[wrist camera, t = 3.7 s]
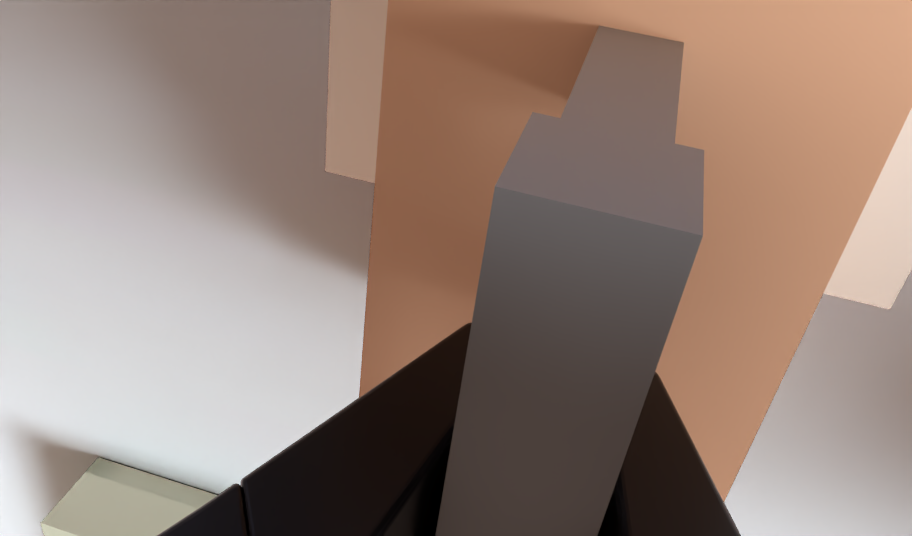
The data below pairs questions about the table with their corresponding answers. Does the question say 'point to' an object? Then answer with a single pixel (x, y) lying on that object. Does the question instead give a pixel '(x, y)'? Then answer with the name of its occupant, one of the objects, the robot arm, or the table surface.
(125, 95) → the table surface
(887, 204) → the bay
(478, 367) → the tall peach cuboid
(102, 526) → the tray
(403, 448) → the robot arm
